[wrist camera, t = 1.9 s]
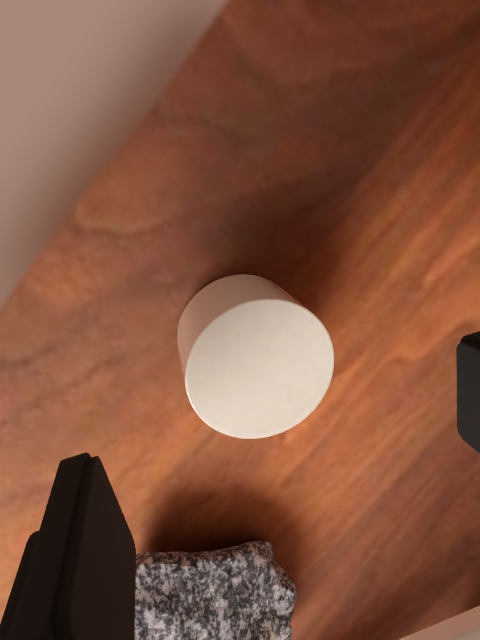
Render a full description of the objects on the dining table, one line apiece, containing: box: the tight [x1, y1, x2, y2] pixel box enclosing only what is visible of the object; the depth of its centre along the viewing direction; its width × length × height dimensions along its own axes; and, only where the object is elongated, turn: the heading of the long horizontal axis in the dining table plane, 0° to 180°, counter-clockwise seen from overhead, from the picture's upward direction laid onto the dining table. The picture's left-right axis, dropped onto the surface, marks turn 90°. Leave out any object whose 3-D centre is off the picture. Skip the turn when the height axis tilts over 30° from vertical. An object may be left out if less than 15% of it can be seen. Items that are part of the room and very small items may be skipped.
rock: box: [135, 541, 297, 640], centre depth 18 cm, size 8×10×4 cm
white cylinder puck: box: [177, 274, 334, 439], centre depth 14 cm, size 5×5×3 cm
